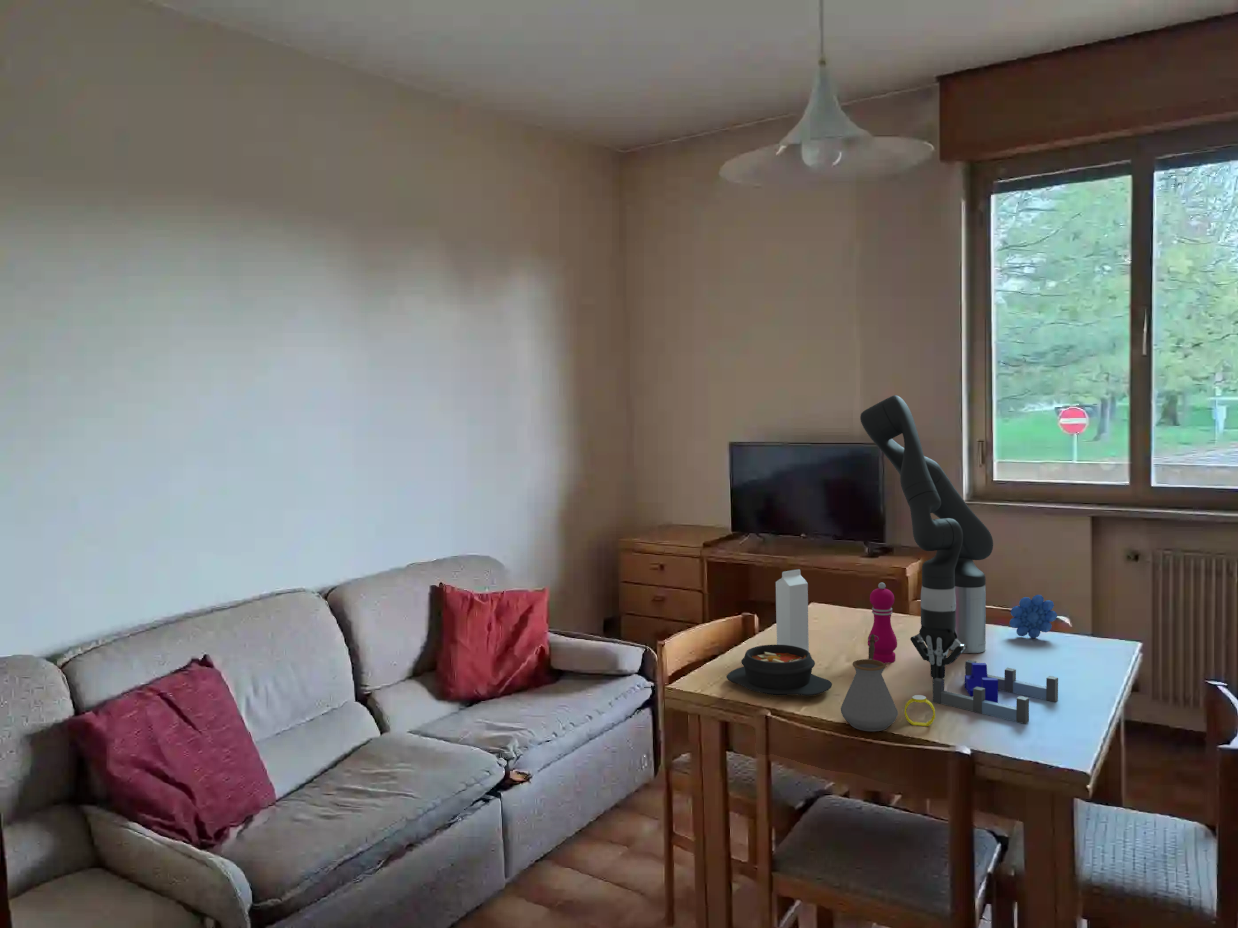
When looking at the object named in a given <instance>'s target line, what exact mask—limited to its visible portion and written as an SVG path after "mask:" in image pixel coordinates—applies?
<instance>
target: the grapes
mask: <svg viewBox="0 0 1238 928" xmlns="http://www.w3.org/2000/svg"><path fill="white" fill-rule="evenodd" d="M1054 604H1055V603H1054V601H1052V600H1050V599H1046V600H1045V599H1044V596H1042V594H1035V595H1034V596H1032V598H1030V597H1027V596H1024V597H1022V598H1020V600H1019V602H1018V605H1015V606H1013V607H1012V608H1011V609H1010V614H1011V616H1012V618H1011V619H1010V620H1009V626H1010V627H1011V628H1012V629H1016V634H1017V636H1019V637H1025V636H1027V635H1028V636H1029V638H1031V639H1036V638H1038V637H1039V636H1040V635H1041V632H1042V633H1048V632H1050V631H1051V629H1052V627H1053V626H1052V622H1054V621H1056V619H1057V617H1058V614H1057V612H1056V611H1054V610H1053V609H1054V607H1055V605H1054Z"/></svg>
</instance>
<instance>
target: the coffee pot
mask: <svg viewBox="0 0 1238 928" xmlns="http://www.w3.org/2000/svg"><path fill="white" fill-rule="evenodd" d="M870 636H871V639H870V640H869V637H870ZM870 636H869V635H868V637H867V641H868V640H869V642H870V645H869V646H868V658H867V659H866V658H865V659H863V658H862V659H858V660H857V659H856V660H854V661H853V662H852V667H854V670H855V674H854V676H853V679H852V681H851V684H850V685H849V688H848V689H847V692H846V694H845V696H844V698H843V702H842V703H841V706H840V713H841V716H842V718H844V719H845V720H846V721H847V723H849V724H850V726H852V728H854V729H857V730H860V731H865V732H879V731H884V730H886V729H888V728H889V726H891V725H892V724H893V723H895V722H896V720H897V717H898V715H899V711H898V709H897V706H896V703H895V701H894V699H893V697H892V695H891V692H890V690H889V688H888V685H887V683H886V682H885V679H884V677H883V672H884V671H885V669H886V668H887V664H886V663H883V662H880V661H877V660H873V656H874V650H875V647H874V643H875V642H876V641H878V640H876V641H875V640H874V639H875V637H874V636H876V635H874V634H872V635H870ZM876 637H877V636H876ZM878 639H879V638H878Z"/></svg>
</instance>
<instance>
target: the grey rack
mask: <svg viewBox="0 0 1238 928" xmlns="http://www.w3.org/2000/svg"><path fill="white" fill-rule="evenodd" d="M971 663H977V661H976V660H971V659H968V660H966V661H965V666H964V667H965V668H964V669H965V673H964V674H965V675H971ZM965 675H964V676H965ZM987 676H988V678H997V680H998V691H1003V692H1007V693H1011V694H1017V695H1019V696H1018V697H1016V706H1012V705H1008V704H1004V703H1000V702H998V703H996V702H992V701H987V700H985V688H981V687H975V688H973V696H970V695H965V694H961V693H957V692H952V691H947V690H945V678H944V679H940V678H935V679H933V678H932V702H933V703H936V704H940V705H945V706H949V707H953V708H957V709H961V710H965V711H970V712H974V713H977V714H983V715H987V716H990V717H991V716H992V717H995V718H999V719H1004V720H1007V721H1012V722H1016V723H1019V724H1023V725H1027V724H1028V723H1029V722H1030V697H1031V698H1035V699H1039V700H1040V699H1041V700H1044V701H1048V702H1053V703H1056V702H1058V700H1059V677H1058V676H1053V675H1049V676H1047V677H1046V681H1045V682H1046V686H1045V685H1042V684H1036V683H1030V682H1027V681H1021V680H1017V669H1016V668H1011V667H1007V668H1005V669H1004V677H1001V676H998V675H997V676H996V675H993V674H988V673H987Z"/></svg>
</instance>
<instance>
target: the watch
mask: <svg viewBox="0 0 1238 928" xmlns="http://www.w3.org/2000/svg"><path fill="white" fill-rule="evenodd" d="M914 702H915V703H920V704H921V703H925V704H927V705H929V707H930V708H931V710H932V716H931V718H930V720H928V721H926V722H920V721H913V720H912V719H911V718H910V717H909V715H908V713H907V708H908V707H910V704H913V703H914ZM935 709H936V708H935V705H933V703H932V702H931V700H929V699H927V696H925V695H922V694H915V695H912V697H911V698H910V699H909V700H908V701H906V703H905V704H904V710H903V711H904V713H903V714H904V717H905V719H906V721H907V722H908V723H909V724H910V725H911V726H916V727H917V726H919V727H929V726H931V725H932V723H934V720H935V719H936V710H935Z"/></svg>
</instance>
